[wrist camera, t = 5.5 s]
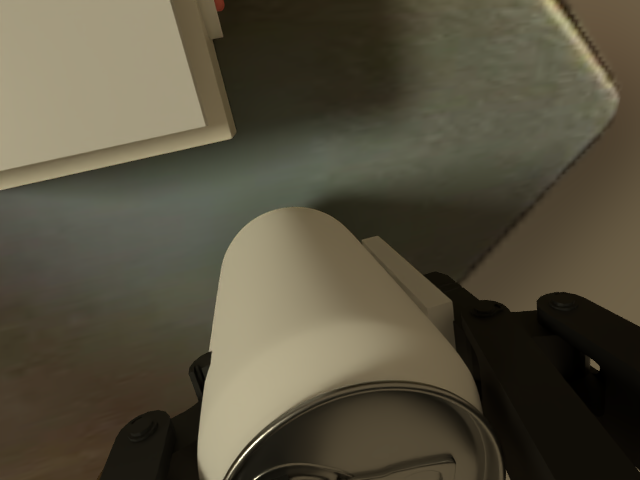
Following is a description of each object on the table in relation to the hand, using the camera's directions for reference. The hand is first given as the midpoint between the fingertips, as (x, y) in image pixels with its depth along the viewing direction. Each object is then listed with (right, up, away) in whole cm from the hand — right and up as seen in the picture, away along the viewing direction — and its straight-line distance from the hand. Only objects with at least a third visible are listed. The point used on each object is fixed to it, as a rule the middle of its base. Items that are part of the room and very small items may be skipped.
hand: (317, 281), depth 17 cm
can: (-1, 0, +2) cm, 2 cm away
